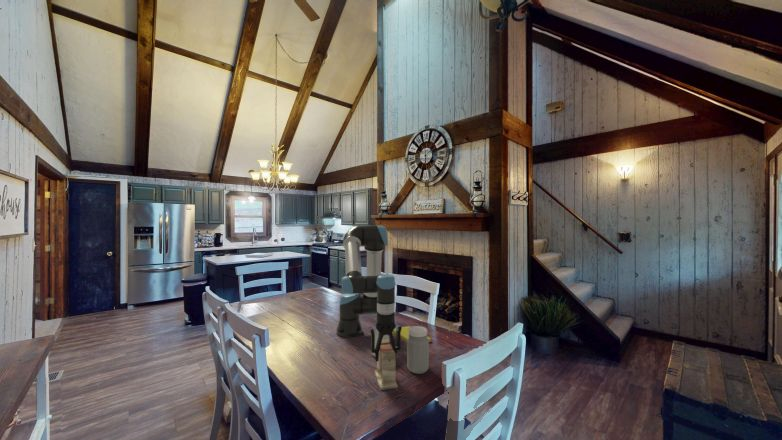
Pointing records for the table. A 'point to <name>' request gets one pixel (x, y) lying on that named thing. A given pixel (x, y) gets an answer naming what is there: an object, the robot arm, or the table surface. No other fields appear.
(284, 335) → the table surface
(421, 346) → the jar
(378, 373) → the tan blocky piece
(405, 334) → the yellow rectangular slab
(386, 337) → the mug
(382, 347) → the orange piece
